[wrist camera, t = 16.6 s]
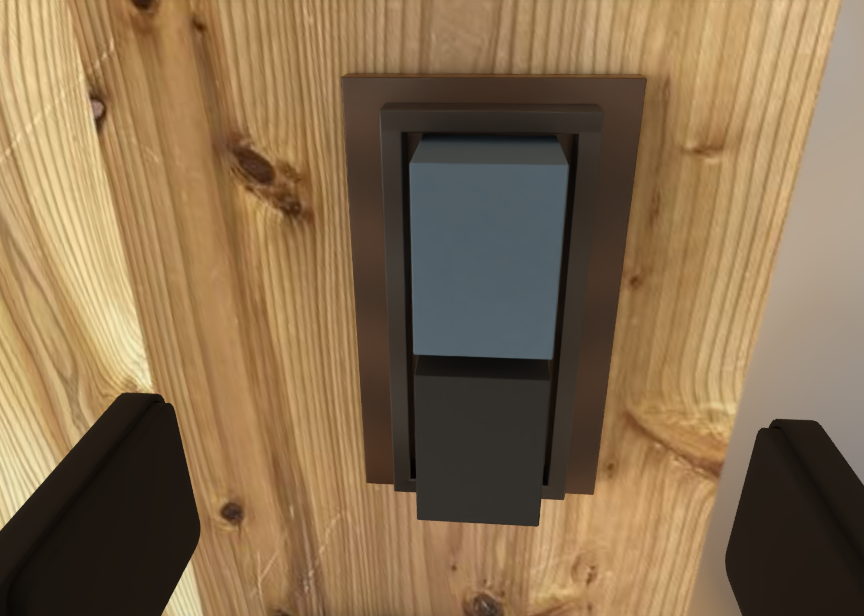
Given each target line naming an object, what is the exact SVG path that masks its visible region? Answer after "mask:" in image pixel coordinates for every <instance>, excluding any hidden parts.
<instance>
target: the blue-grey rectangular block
mask: <svg viewBox="0 0 864 616" xmlns="http://www.w3.org/2000/svg"><path fill="white" fill-rule="evenodd" d="M409 169H410V216H411V263H412V310H413V353H414V354H415V355H442V356H469V357H497V358H524V359H552V358H553V351H554V339H555V327H556V316H557V304H558V292H559V280H560V268H561V256H562V244H563V233H564V221H565V209H566V197H567V185H568V173H569V165H568V163H567V160H566V158H565V155H564V153H563V150H562V148H561V145H560V143H559V141H558V138H557V136H542V135H448V134H424V135H423V136H422V138H421V140H420V143H419V145H418V147H417V149H416V151H415V153H414V155H413V158H412V160H411V162H410V164H409Z"/></svg>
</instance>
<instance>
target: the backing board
mask: <svg viewBox="0 0 864 616" xmlns="http://www.w3.org/2000/svg"><path fill="white" fill-rule="evenodd" d="M646 82H647V78H645V77H644V76H642V75H611V74H345V75H344V76H342V77H341V86H342V102H343V118H344V134H345V150H346V166H347V182H348V198H349V214H350V229H351V245H352V261H353V277H354V293H355V309H356V325H357V341H358V357H359V372H360V388H361V404H362V420H363V436H364V452H365V468H366V482H367V483H376V484H394V491H401V492H416V447H415V400H414V374H415V369H416V364H417V359H418V355H415V354H414V353H413V310H412V263H411V216H410V169H409V164H410V162H411V160H412V158H413V155H414V153H415V151H416V149H417V147H418V145H419V143H420V140H421V138H422V136H423V135H424V134H448V135H542V136H557V138H558V141H559V143H560V145H561V148H562V150H563V153H564V155H565V158H566V160H567V163H568V165H569V173H568V185H567V197H566V209H565V221H564V233H563V244H562V256H561V268H560V280H559V292H558V304H557V316H556V327H555V339H554V351H553V358H552V359H548V364H549V371H550V378H551V388H550V400H549V412H548V424H547V435H546V447H545V459H544V471H543V483H542V495H541V499H553V500H564V497H565V493H569V494H589V495H593V494H594V488H595V480H596V472H597V464H598V456H599V449H600V441H601V433H602V425H603V417H604V409H605V402H606V394H607V386H608V378H609V370H610V363H611V355H612V347H613V339H614V331H615V324H616V316H617V308H618V300H619V292H620V285H621V277H622V269H623V261H624V253H625V246H626V238H627V230H628V222H629V214H630V207H631V199H632V191H633V183H634V175H635V167H636V160H637V152H638V144H639V136H640V128H641V121H642V113H643V105H644V97H645V89H646Z"/></svg>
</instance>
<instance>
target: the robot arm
mask: <svg viewBox="0 0 864 616" xmlns="http://www.w3.org/2000/svg"><path fill="white" fill-rule="evenodd" d="M199 537H200V520H199V516H198V511H197V507H196V503H195V498H194V494H193V489H192V485H191V480H190V476H189V471H188V467H187V463H186V458H185V454H184V449H183V445H182V440H181V436H180V431H179V427H178V423H177V418H176V414H175V410H174V407H173V406H172V404H170V403H165V401H164V399H163V397H162V396H161V395H159V394H150V393H122V394H121V395H120V396H118V397H117V399H116V400H115V401H114V402H113V403H112V404H111V405H110V406H109V408H108V409H107V410H106V411H105V412H104V413H103V414H102V416H101V417H100V418H99V419H98V420H97V421H96V422H95V424H94V425H93V426H92V427H91V428H90V429H89V430H88V432H87V433H86V434H85V435H84V436H83V437H82V438H81V440H80V441H79V442H78V443H77V444H76V445H75V446H74V448H73V449H72V450H71V451H70V452H69V453H68V454H67V456H66V457H65V458H64V459H63V460H62V461H61V462H60V463H59V465H58V466H57V467H56V468H55V469H54V470H53V471H52V473H51V474H50V475H49V476H48V477H47V478H46V479H45V481H44V482H43V483H42V484H41V485H40V486H39V487H38V489H37V490H36V491H35V492H34V493H33V494H32V495H31V497H30V498H29V499H28V500H27V501H26V502H25V503H24V505H23V506H22V507H21V508H20V509H19V510H18V511H17V513H16V514H15V515H14V516H13V517H12V518H11V519H10V521H9V522H8V523H7V524H6V525H5V526H4V527H3V528H2V530H1V531H0V616H161V615H162V613H163V611H164V609H165V607H166V605H167V603H168V601H169V599H170V597H171V595H172V593H173V591H174V589H175V588H176V586H177V584H178V582H179V580H180V578H181V576H182V574H183V572H184V570H185V568H186V566H187V564H188V562H189V560H190V558H191V556H192V554H193V553H194V551H195V549H196V546H197V544H198V541H199ZM725 564H726V572H727V576H728V579H729V582H730V585H731V587H732V590H733V592H734V595H735V597H736V600H737V602H738V605H739V608H740V611H741V613H742V616H864V485H863V484H862V483H861V481H860V480H859V478H858V477H857V475H856V474H855V473H854V471H853V470H852V468H851V467H850V466H849V464H848V463H847V461H846V460H845V458H844V457H843V456H842V454H841V453H840V451H839V450H838V449H837V447H836V446H835V444H834V443H833V442H832V440H831V439H830V437H829V436H828V435H827V433H826V432H825V430H824V429H823V428H822V426H821V425H820V424H819V423H818V422H816V421H813V420H791V419H790V420H789V419H775V420H773V421H772V422H771V424H770V426H769V428H761V429H760V430H759V431H758V434H757V436H756V440H755V444H754V448H753V451H752V455H751V459H750V463H749V467H748V471H747V474H746V478H745V482H744V486H743V490H742V494H741V497H740V501H739V505H738V509H737V512H736V516H735V521H734V524H733V528H732V532H731V535H730V539H729V543H728V547H727V551H726V558H725Z"/></svg>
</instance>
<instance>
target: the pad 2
mask: <svg viewBox="0 0 864 616" xmlns="http://www.w3.org/2000/svg"><path fill="white" fill-rule="evenodd" d="M550 388H551V378H550V371H549V364H548V359H524V358H497V357H469V356H442V355H418V359H417V364H416V369H415V374H414V400H415V447H416V494H417V519H418V520H431V521H449V522H467V523H485V524H502V525H520V526H539V519H540V507H541V495H542V483H543V471H544V459H545V447H546V435H547V424H548V412H549V400H550Z"/></svg>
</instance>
